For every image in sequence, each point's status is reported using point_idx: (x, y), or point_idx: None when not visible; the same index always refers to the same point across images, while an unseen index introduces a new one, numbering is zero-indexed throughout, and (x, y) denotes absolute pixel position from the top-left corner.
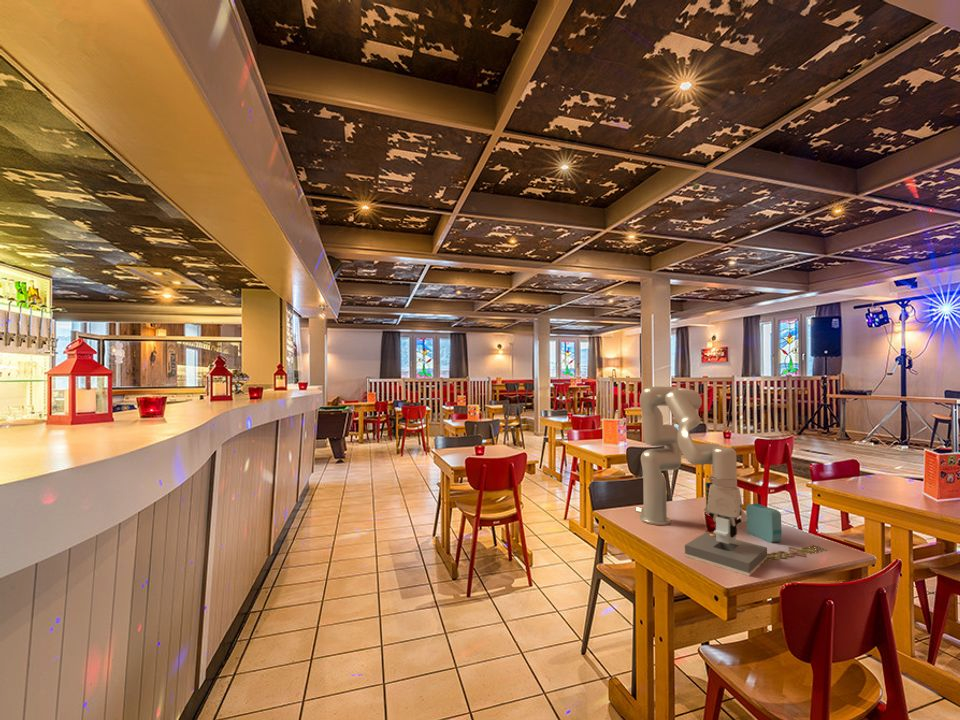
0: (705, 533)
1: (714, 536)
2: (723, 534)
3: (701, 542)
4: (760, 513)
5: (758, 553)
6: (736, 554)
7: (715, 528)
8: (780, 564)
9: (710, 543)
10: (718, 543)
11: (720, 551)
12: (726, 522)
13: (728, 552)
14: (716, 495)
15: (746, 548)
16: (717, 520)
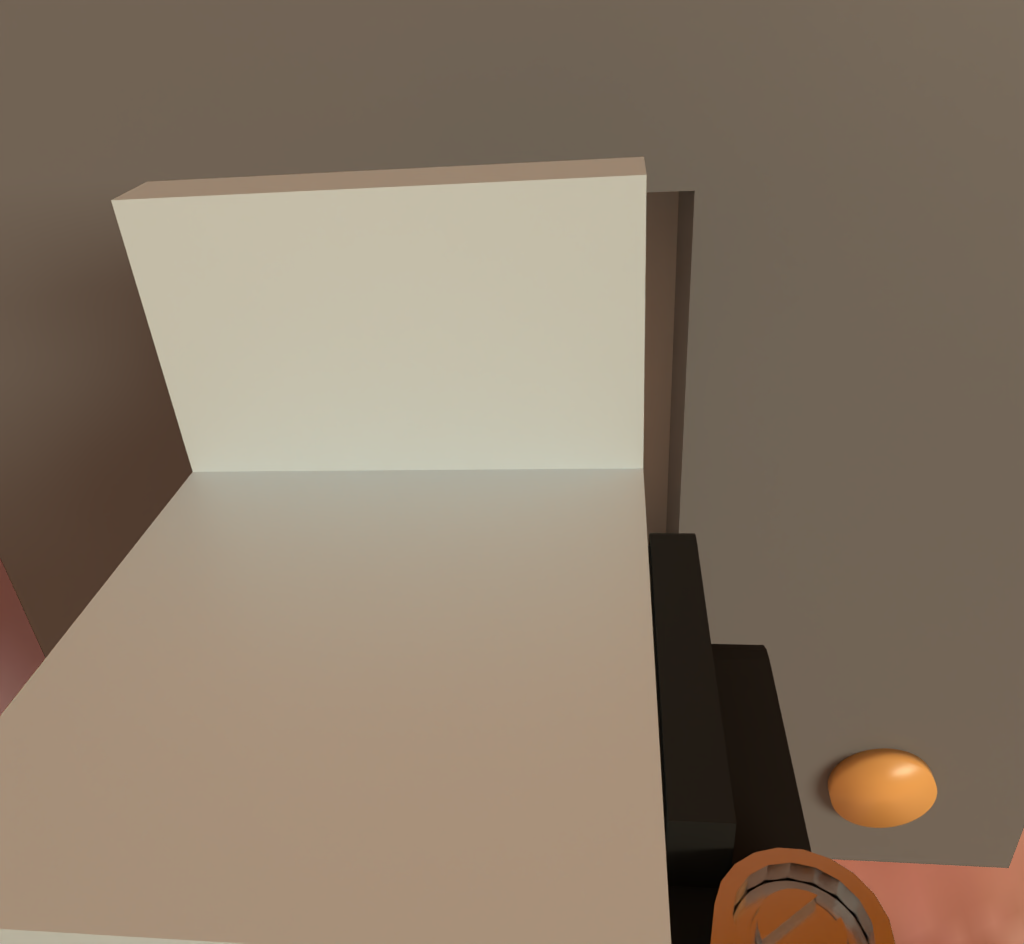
0: (1015, 795)
1: (839, 763)
2: (220, 188)
3: (1001, 271)
4: None
5: (5, 532)
6: (143, 154)
7: (742, 666)
8: (26, 648)
9: (801, 371)
10: (679, 518)
11: (443, 23)
12: (34, 788)
13: (300, 127)
14: None
15: None
16: (550, 801)
